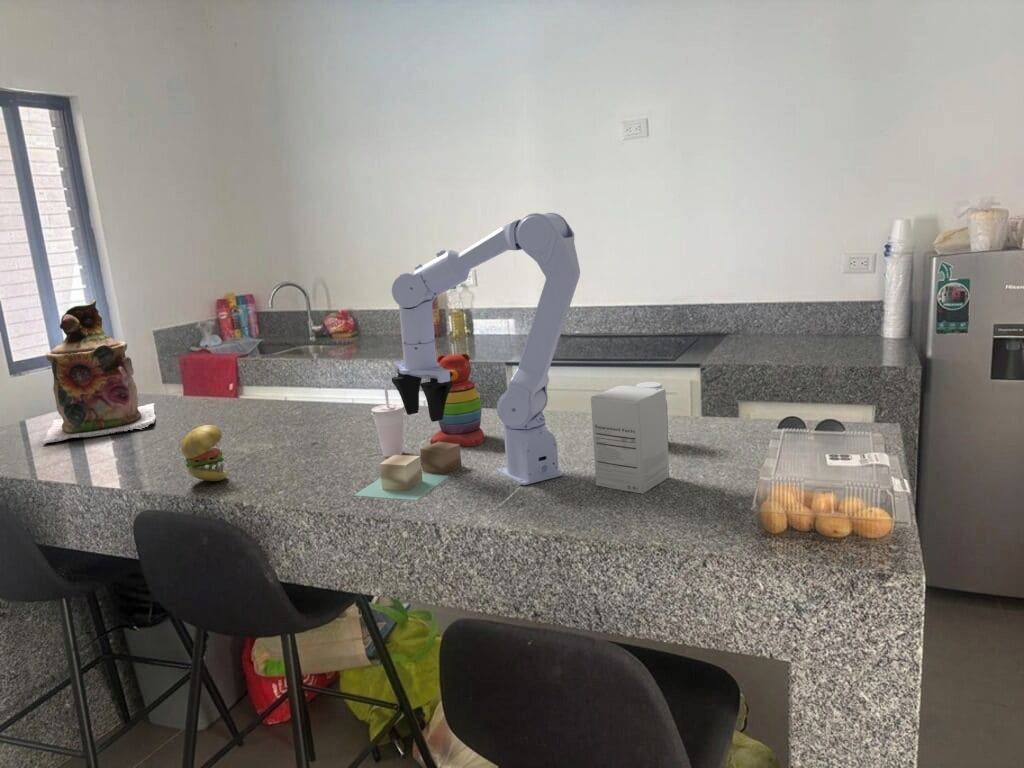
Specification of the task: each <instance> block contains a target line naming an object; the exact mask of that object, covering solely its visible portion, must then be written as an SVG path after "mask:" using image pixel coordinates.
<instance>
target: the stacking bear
mask: <svg viewBox="0 0 1024 768" xmlns="http://www.w3.org/2000/svg"><path fill="white" fill-rule="evenodd" d="M437 364H438V365H439V366H440V367H442V368H444V369H446V370H449V371H450V380H452V381H453V386H452V387H451V389H450V391H449V394H448V397H447V400H446V404H445V409H444V415H443V419H442V420H439V421H437V422H438V424H439V427H440V430H439V431H437V432H436V433H434V435H433V436H432V437H431V438H430V440H429V441H430V442H429V443H430V445H432V444H434V443H437V442H445V443H452V444H459V445H460V446H463V447H476V446H480V445H482V444H483V442H484V441H485V433H484V431H483V430H482V428H481V423H482V402H481V398H480V396H479V392H478V389H477V387H476V386H475V384H474V382H473V381H472V380H470V376H471V370H472V368H471V366H472V365H471V363H470V355H468V353H462V354H456V353H455V354H448V355H443V354H441V355H439V356H438V357H437Z"/></svg>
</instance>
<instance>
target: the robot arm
mask: <svg viewBox="0 0 1024 768" xmlns="http://www.w3.org/2000/svg"><path fill="white" fill-rule="evenodd" d="M576 249H577V248H576V243H575V231H573V229H572V227H571V226H570V225H569V223H568V222H567V220H566V219H565V217H563V216H562V215H560V214H558V213H555V212H547V213H539V212H533V213H528V214H527V215H525V216H523V217H522V219H519V218H518V219H515V220H513V221H511V222H509V223H507V224H504V225H503V226H501V227H500V228H498V229H496V230H494V231H493V232H492V233H490V234H489V235H487V236H485V237H484V238H482V239H480V240H479V241H478V242H477V241H476V242H475V243H473V244H472V245H471V246H469V247H468V248H466V249H464V250H463V251H461V252H458V251H455V250H448V251H446V250H444V249H443V250H440V251H438V252H436V254H435V255H436V257H435V258H433V259H432V260H430V261H429V262H426V263H425V264H423V265H422V264H417V265H416V266H414V271H413V272H411V273H409V272H404V273H401V274H400V275H399V276H398V277H396V279H395V280H394V281H393V283H392V286H391V295H392V297H393V299H394V301H395V303H396V304H397V305H398V307H399V308H398V309H399V320H400V332H401V343H402V344H401V345H402V356H403V361H397V362H394V363H393V368H394V374H397V376H393V377H391V382H392V383H393V385H394V386H395V388H396V389H397V391H398V393H399V396H400V398H401V400H402V401H401V402H402V403H403V404H402V405H404V410H405V412H406V415H408V416H410V415H415V414H418V413H419V410H420V388H421V389H422V391H423V393H424V396H425V399H426V403H427V409H428V415H429V419H430V421H431V422H433V423H435V422H438V421H439V420H442V419H443V415H444V409H445V404H446V400H447V397H448V394H449V391H450V389H451V387H452V386H453V381H452V380H450V371H449V370H446V369H444V368H442V367H440V366H439V364H438V361H437V351H436V340H435V338H436V337H435V325H434V311H433V310H434V309H433V302H434V300H435V299H436V297H439V296H441V295H442V294H444V293H446V292H448V291H450V290H451V289H453V288H455V287H457V286H459V285H461V284H462V283H464V282H466V281H467V280H468V278H469V275H470V272H471V269H473V268H476V267H478V266H479V265H481V264H483V263H486V262H488V261H490V260H492V259H494V258H495V257H497V256H499V255H501V254H503V253H505V252H508V251H520V250H523V252H524V253H526V254H527V255H528V256H529V257H530V258H532V260H534V261H535V262H536V263H537V265H538V266H539V269H540V271H541V272H542V274H543V275H544V276H545V280H544V284H543V287H542V290H541V292H540V293H541V294H540V297H539V300H538V304H537V307H536V310H535V312H534V316H533V319H532V323H531V325H530V328H529V332H528V335H527V338H526V340H525V341H526V342H525V345H524V348H523V351H522V355H521V357H520V361H519V364H518V367H517V369H515V372H514V374H513V376H512V377H511V379H510V381H509V382H508V386H507V389H506V390H505V391H504V393H502V394H501V395H500V397H499V398H498V400H497V403H496V413H497V416H498V418H499V420H500V421H501V422H502V425H503V438H504V439H503V441H504V451H505V462H506V464H505V465H506V467H501V468H498V469H497V472H498V473H499V474H501V475H503V476H504V477H507V478H509V479H510V480H512V481H513V482H516V483H519V484H520V485H522V486H527V485H530V484H531V485H532V484H534V483H538V482H542V481H546V480H551V479H554V478H560V477H562V476H564V472H563V471H561V470H559V459H558V455H559V454H558V442H557V439H556V437H555V435H554V434H553V433H552V432H550V430H549V429H548V428H547V424H546V417H545V415H544V413H543V411H544V410H545V408H546V407H547V405H548V401H549V399H548V398H549V396H548V385H549V381H550V378H549V374H548V373H549V371H550V368H551V367H550V366H551V364H552V361H553V359H554V355H555V352H556V349H557V346H558V343H559V340H560V338H561V337H560V336H561V335H562V332H563V328H564V325H565V321H566V319H567V316H568V312H569V309H570V307H571V304H572V301H573V297H574V294H575V292H576V289H577V286H578V282H579V280H580V275H581V268H580V263H579V259H578V258H579V257H578V255H577V254H578V253H577V250H576ZM422 379H427V380H429V381H426V382H422Z"/></svg>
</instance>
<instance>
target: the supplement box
mask: <svg viewBox="0 0 1024 768" xmlns="http://www.w3.org/2000/svg"><path fill="white" fill-rule="evenodd" d="M666 391H667V390H666V389H665V388H662V389H656V388H643V387H636V386H633V385H618V386H615V387H613V388H610V389H608V390H605V391H602V392H601V393H598V394H596V395H592V396H590V405H591V420H592V437H593V439H592V441H593V453H594V454H593V455H594V456H593V457H594V470H595V471H594V472H595V473H594V475H595V485H596V486H597V487H603V488H609V489H615V490H617V491H618V490H619V491H625V492H631V493H635V494H641V495H644V494H646V493H647V492H649V491H650V490H652V488H654V487H656V486H658V485H659V484H661V483H662V482H664V481H666V480H667V479H668V478H670V464H669V463H670V461H669V435H668V436H667V415H668V412H667V413H666V401H667V393H666Z"/></svg>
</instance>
